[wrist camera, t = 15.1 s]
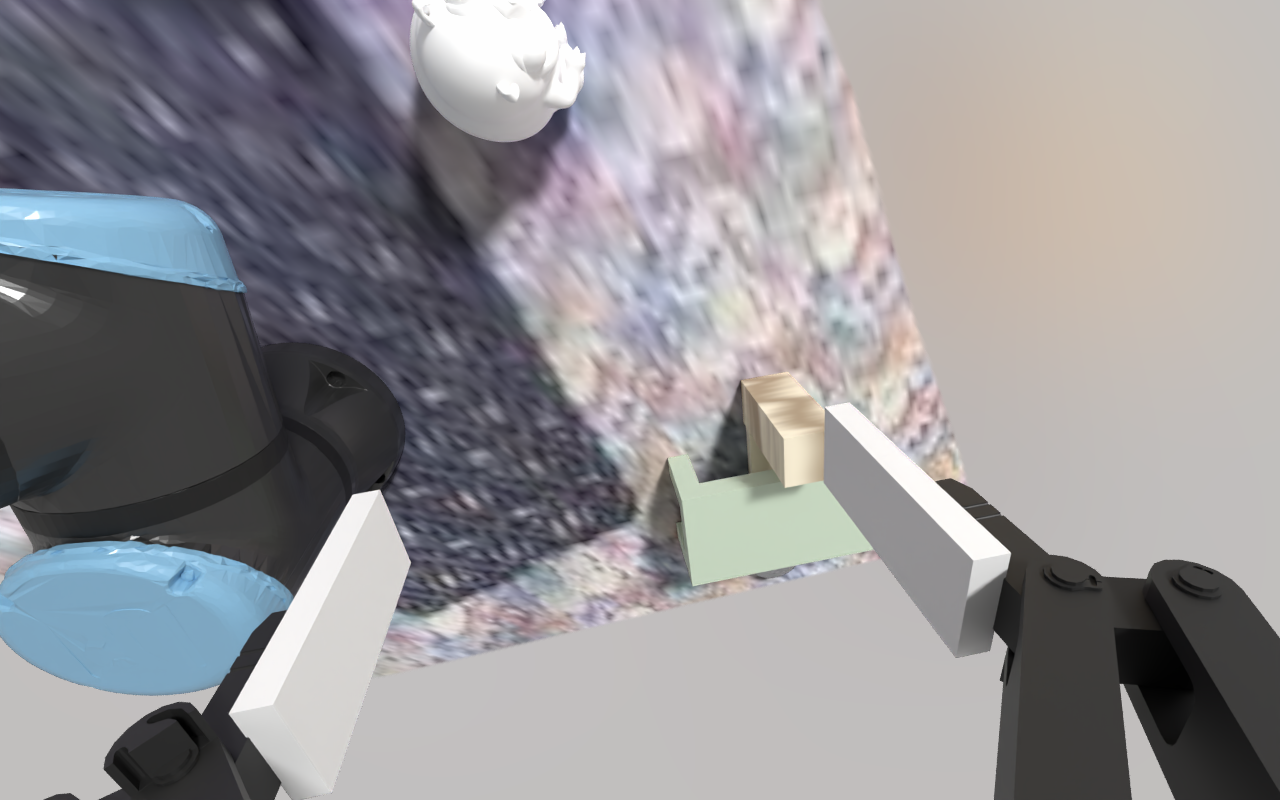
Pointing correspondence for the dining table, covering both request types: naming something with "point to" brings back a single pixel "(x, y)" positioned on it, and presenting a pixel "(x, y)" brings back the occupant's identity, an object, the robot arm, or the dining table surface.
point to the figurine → (494, 65)
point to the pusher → (783, 429)
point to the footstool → (757, 524)
